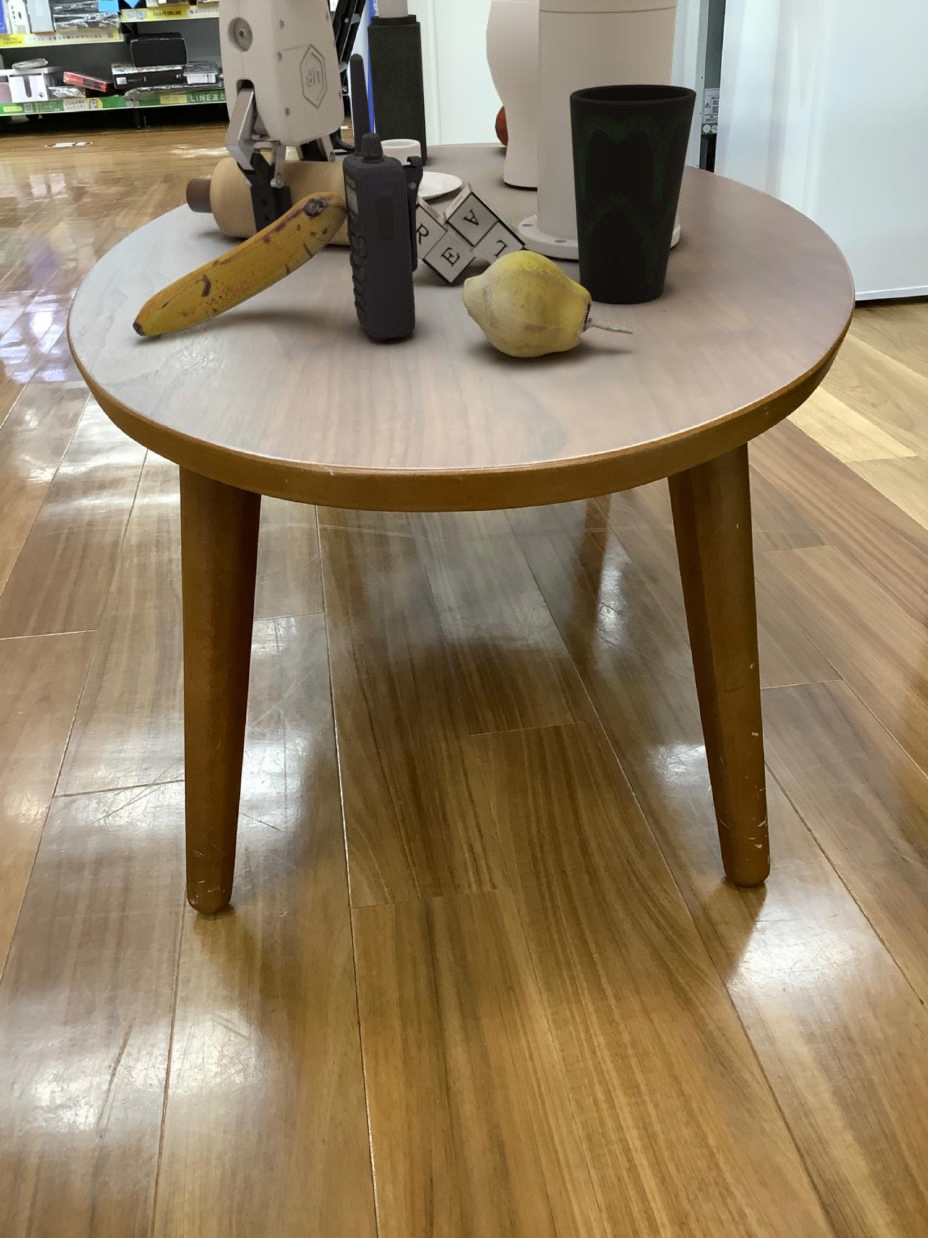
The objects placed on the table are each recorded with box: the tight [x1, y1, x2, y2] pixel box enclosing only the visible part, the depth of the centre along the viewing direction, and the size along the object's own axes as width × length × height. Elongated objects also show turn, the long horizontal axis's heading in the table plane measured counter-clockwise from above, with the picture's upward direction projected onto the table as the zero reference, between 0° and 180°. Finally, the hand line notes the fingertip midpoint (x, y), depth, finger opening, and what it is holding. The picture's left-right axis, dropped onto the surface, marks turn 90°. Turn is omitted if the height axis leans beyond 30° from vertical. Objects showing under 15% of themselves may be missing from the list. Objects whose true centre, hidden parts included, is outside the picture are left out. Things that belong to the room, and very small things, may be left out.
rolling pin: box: [185, 156, 350, 246], centre depth 80 cm, size 19×6×6 cm, turn 69°
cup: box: [569, 84, 697, 305], centre depth 65 cm, size 8×8×12 cm
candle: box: [366, 0, 428, 166], centre depth 100 cm, size 5×5×25 cm
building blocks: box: [416, 182, 526, 287], centre depth 71 cm, size 5×5×8 cm
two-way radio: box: [341, 53, 424, 341], centre depth 58 cm, size 6×4×15 cm
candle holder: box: [381, 139, 463, 201], centre depth 94 cm, size 12×12×4 cm
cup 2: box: [485, 0, 539, 188], centre depth 92 cm, size 11×11×15 cm
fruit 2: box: [462, 249, 634, 358], centre depth 58 cm, size 6×6×10 cm
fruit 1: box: [132, 192, 347, 337], centre depth 61 cm, size 15×9×3 cm
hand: (298, 226), depth 81 cm, fingers open, 6 cm apart
